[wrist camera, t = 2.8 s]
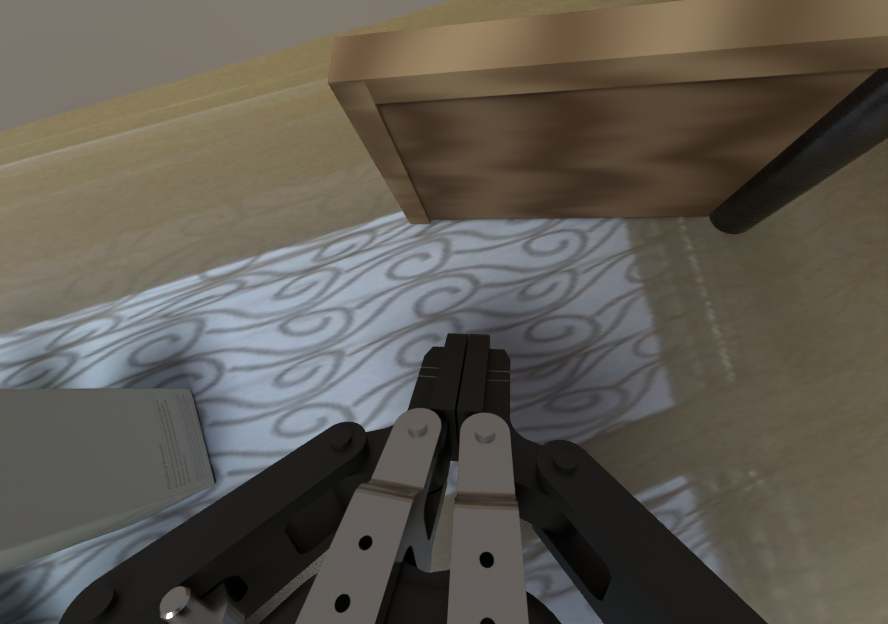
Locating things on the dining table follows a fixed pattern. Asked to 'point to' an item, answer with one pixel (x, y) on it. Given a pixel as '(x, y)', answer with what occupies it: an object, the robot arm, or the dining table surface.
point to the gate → (600, 104)
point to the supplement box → (92, 463)
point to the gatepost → (811, 156)
